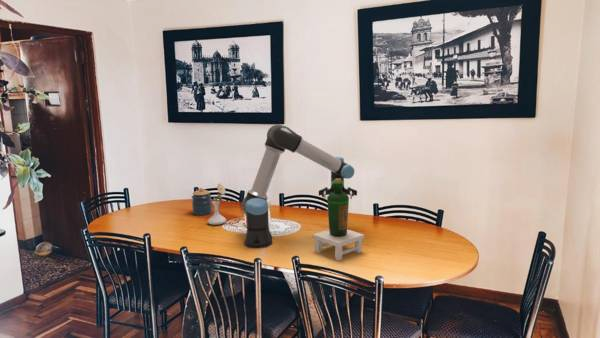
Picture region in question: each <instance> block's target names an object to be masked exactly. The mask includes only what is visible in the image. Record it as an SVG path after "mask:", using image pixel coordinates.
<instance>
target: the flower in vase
mask: <svg viewBox="0 0 600 338" xmlns="http://www.w3.org/2000/svg"><path fill="white" fill-rule="evenodd" d="M216 188H217V191H218V192H217V197H215V196H213V200H214V201H211V204H213V205H212V206H213V207H214V208H213V209H214V213H213V214H212V215H211V217H209V218H208V219H207V223H208V225H209V224H210V225H214V226H216V225H217V226H218V225H223V224H225V223H226V222H227V219H226V218H225V216H223V215H221V214H220V212H219V205H220V203H221V201H220V200H218V199H222V198H223V196H225V194H226V189H225V187H224V185H223V184H222V183H217V185H216Z"/></svg>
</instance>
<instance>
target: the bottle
mask: <svg viewBox="0 0 600 338" xmlns="http://www.w3.org/2000/svg"><path fill="white" fill-rule="evenodd" d="M332 186H333V187H334V191H333V192H332V193H330V194H328V195H327V196H326V199H327V214H328V216H327V218H328V228H329V229H328V230H329V232H330V234H331V235H332V236H336V237H341V236H345V235H346V234H347V230H348V221H349V220H348V219H349V201H350V196H349V195H347V194H346V193H344V192H343V191H342V187H343V186H344V187H345V184H344V185H343V181H341V179H340V178H337V179H335V181H333V185H332Z"/></svg>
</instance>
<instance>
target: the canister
mask: <svg viewBox="0 0 600 338" xmlns="http://www.w3.org/2000/svg"><path fill="white" fill-rule="evenodd" d="M210 193H211V192H210V191H209V190H207V189H204V188H203V187H200V188H199V189H198V190H194V192H193V193H192V196H191V199H192V201H191V203H192V204H191V205H192V207H191V208H192V214H193V215H194V216H198V217H199V216H208V215H210V214H212V212H213V208H212V207H213V205H212V199H211V198H212V195H211V194H210Z"/></svg>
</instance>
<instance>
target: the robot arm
mask: <svg viewBox="0 0 600 338" xmlns="http://www.w3.org/2000/svg"><path fill="white" fill-rule="evenodd" d="M264 147H265V151H264V154H263V156H262V158H261V162H260V165H259V168H258V170H257V173H256V176H255V178H254V182H253V185H252V187H251V189H249V190H247V193H246V195H245V197H244V198H243V200H242V202H241V210H242V212H243V214H244V215H245V218H246V231H245V232H246V233H245V235H244V239H243V245H244V246H245V247H247V248H250V249H251V248H252V249H262V248H267V247H270V246H271V245H272V244H273V243H274V241H273V240H274V239H273V237H272V236H273V235H272V234H271V231H270V225H269V224H270V222H269V220H270V219H269V202H268V201H267V200H268V196H267V193H268V191H269V187H270V184H271V183H272V179H273V177H274V174H275V172H276V168H277V165H278V164H279V160H280V157H281V155H282V154H284V153H285V152H286V151H289V152H291V153H296V154H299V155H301V156H302V157H304V158H306V159H308V160H311V161H312V162H314V163H316V164H318V165H319V166H321V167H323V168H325V169H327V170H328V171H330V188H328V187H327V186H326V187H324V188H322V189H320V190H318V196H321V197H322V198H323V199H324V200H326V199H327V196H329V194H330V193H332V192H333V191H334V187H333V186H332V185H333V181H335V179H337V178H340V179H341V181H343V185H344V186H343V187H342V191H343V192H344V193H346V194H347V195H348V196H349V200H352V199H353V197H355V196H357V195H358V190H356V189H354V188H351V187H350V186H349V187H347V188H346V187H345V179H348V180H349V179H351V178H353V177H354V175H355V168H354V167H353V166H352V165H351V164H348V163H346V162H345V159H344V157H341V156H334V155H332V154H329V152H326V151H325V150H323V149H321V148H319V147H317V146H316V145H314V144H312V143H310V142H309V141H306V140H304V138H303V136H302V135H300V134H298V133H296V132H295V131H294V130H292V129H291V128H290V127H288V126H286V125H282V124H274V125H272V126H271V127H269V129H268V130H267V132H266V140H265V143H264Z"/></svg>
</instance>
